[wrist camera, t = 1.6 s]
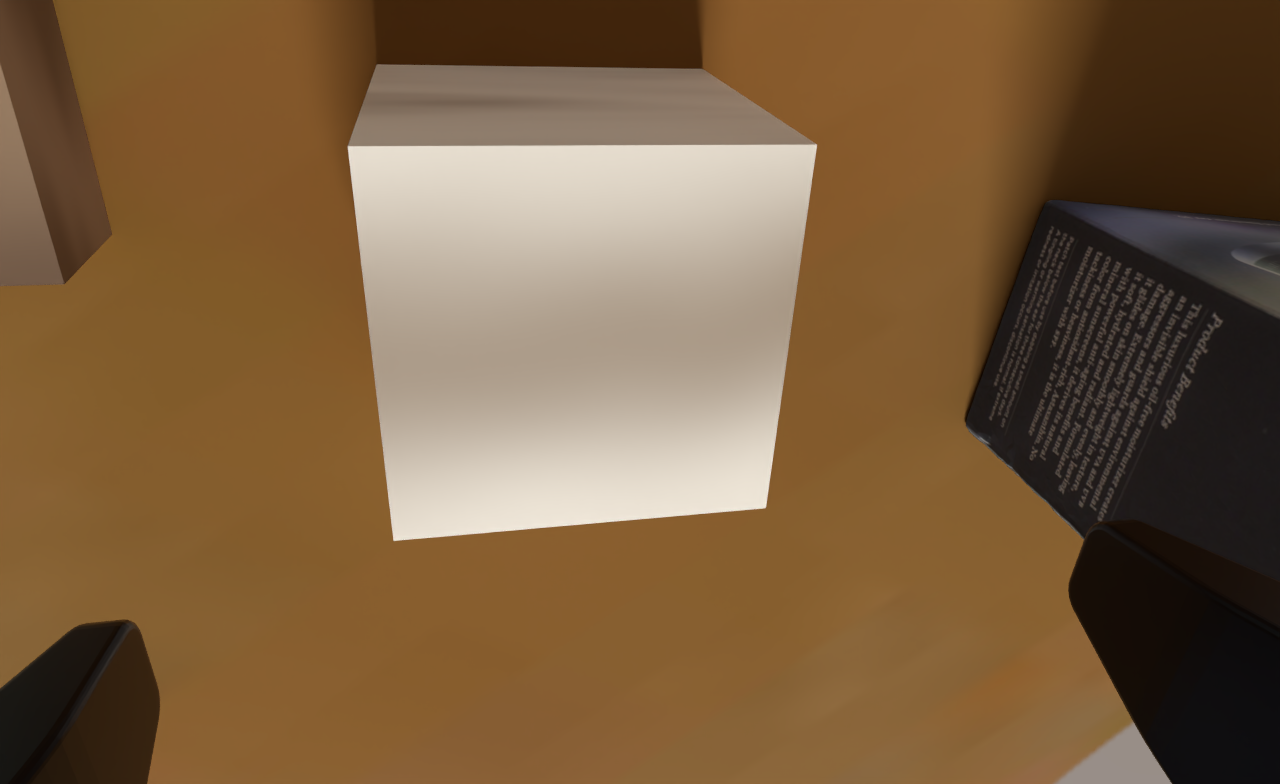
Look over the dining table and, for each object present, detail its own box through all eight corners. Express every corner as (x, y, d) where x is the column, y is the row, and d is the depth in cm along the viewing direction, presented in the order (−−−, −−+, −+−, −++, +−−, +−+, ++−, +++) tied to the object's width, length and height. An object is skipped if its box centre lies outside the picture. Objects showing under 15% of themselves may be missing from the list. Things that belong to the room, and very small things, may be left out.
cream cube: (680, 348, 20) (765, 508, 15) (405, 362, 19) (393, 540, 13) (701, 68, 17) (816, 144, 12) (377, 63, 16) (348, 145, 11)
